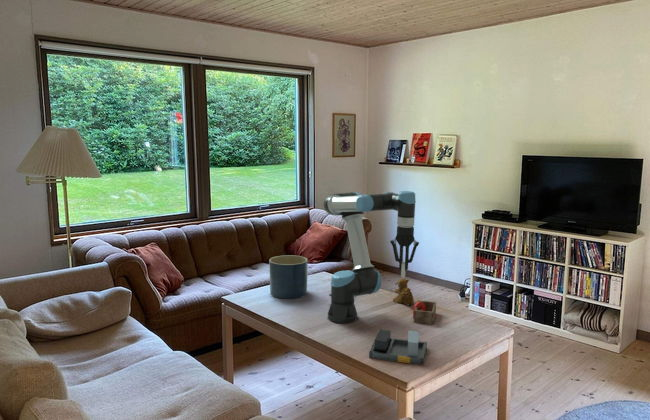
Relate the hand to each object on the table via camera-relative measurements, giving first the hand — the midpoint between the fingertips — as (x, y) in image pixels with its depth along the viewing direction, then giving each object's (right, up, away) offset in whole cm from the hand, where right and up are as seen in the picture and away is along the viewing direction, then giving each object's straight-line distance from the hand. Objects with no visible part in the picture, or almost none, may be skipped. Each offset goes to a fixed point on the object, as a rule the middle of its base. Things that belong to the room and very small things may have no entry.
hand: (403, 276), depth 224 cm
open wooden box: (+15, -24, +26) cm, 39 cm away
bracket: (+15, -24, +26) cm, 39 cm away
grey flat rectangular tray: (-4, -30, -15) cm, 34 cm away
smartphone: (-25, -19, +64) cm, 72 cm away
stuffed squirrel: (+9, -21, +49) cm, 54 cm away
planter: (-57, -19, +64) cm, 87 cm away
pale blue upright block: (+1, -30, -17) cm, 34 cm away
